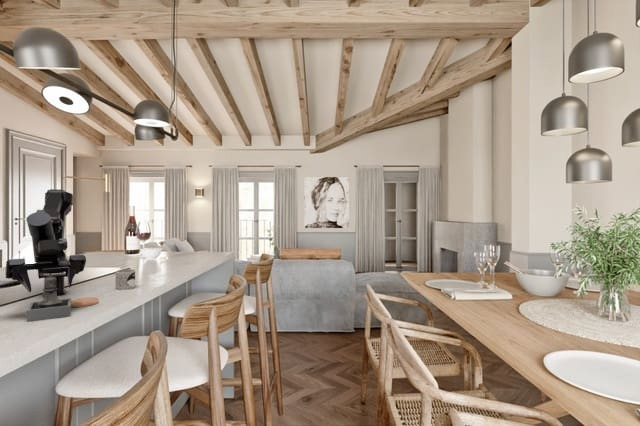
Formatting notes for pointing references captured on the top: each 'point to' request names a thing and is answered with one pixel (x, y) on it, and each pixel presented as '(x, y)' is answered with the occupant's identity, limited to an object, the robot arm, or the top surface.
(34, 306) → the tub
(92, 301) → the coaster
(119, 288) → the grey speckled block
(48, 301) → the grey tall domed piece
